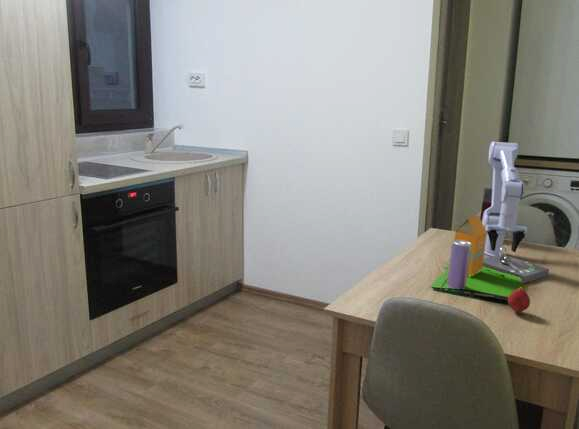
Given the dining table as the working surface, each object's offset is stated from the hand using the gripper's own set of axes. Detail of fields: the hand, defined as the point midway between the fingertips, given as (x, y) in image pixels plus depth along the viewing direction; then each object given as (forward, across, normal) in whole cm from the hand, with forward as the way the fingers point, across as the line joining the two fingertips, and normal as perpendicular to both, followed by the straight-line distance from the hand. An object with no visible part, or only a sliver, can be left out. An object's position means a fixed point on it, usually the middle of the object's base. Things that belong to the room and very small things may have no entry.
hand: (502, 250), depth 193 cm
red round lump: (+6, -12, -42) cm, 45 cm away
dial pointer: (+3, 0, -6) cm, 7 cm away
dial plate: (+6, +2, -5) cm, 8 cm away
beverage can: (+6, -24, -24) cm, 35 cm away
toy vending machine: (+6, +11, +36) cm, 38 cm away
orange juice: (+6, -16, -8) cm, 19 cm away
